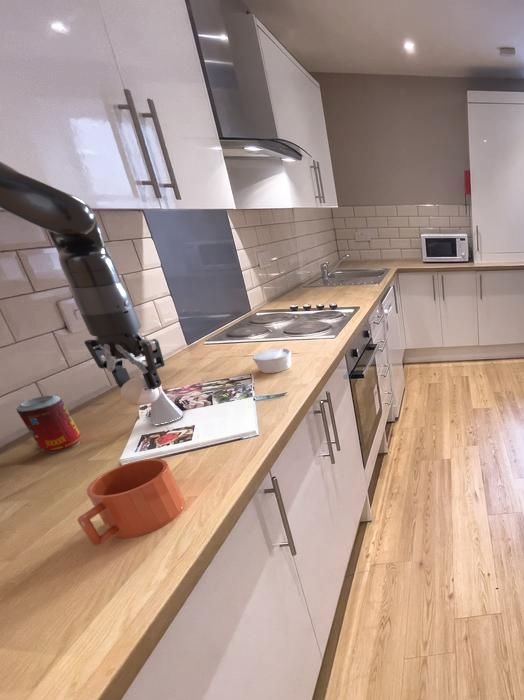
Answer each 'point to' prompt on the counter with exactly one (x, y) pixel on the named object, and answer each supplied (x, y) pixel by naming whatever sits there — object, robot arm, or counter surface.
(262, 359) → the ramekin
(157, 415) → the flask
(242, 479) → the counter surface
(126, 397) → the garlic bulb
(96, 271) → the robot arm
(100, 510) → the mug
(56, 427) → the soda can
